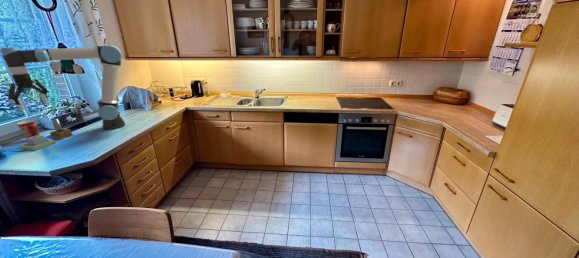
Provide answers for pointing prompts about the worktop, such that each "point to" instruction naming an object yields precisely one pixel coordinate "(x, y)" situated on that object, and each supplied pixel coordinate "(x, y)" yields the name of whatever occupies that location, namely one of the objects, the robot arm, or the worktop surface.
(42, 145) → the tray
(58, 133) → the bored block
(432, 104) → the worktop surface
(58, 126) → the pin gauge
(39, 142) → the block
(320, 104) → the worktop surface
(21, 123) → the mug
